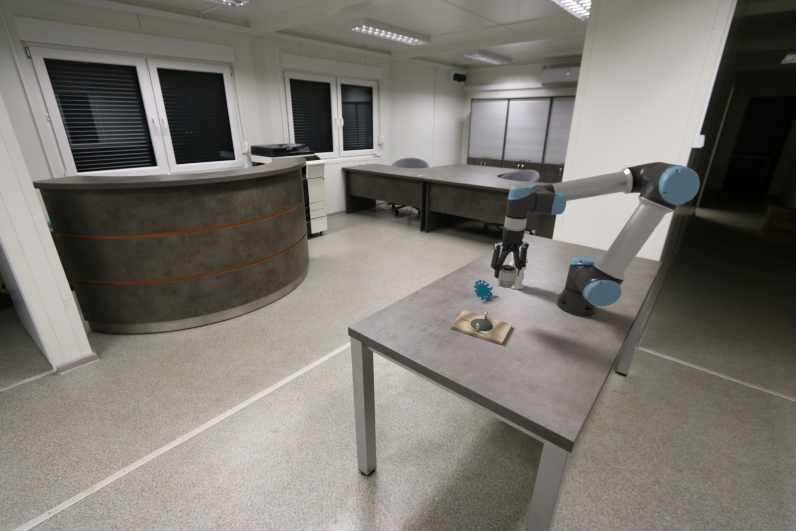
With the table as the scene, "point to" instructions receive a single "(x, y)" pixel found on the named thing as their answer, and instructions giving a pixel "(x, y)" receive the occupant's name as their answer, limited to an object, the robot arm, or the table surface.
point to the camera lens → (507, 276)
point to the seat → (482, 324)
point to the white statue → (521, 274)
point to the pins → (479, 324)
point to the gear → (483, 290)
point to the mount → (493, 335)
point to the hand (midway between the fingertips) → (505, 284)
